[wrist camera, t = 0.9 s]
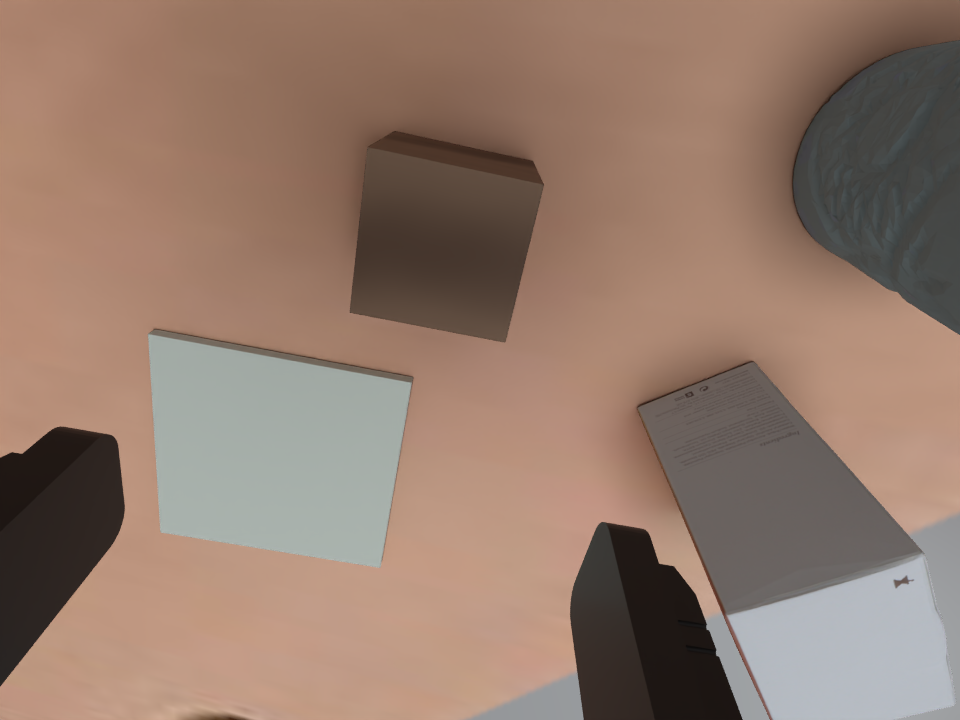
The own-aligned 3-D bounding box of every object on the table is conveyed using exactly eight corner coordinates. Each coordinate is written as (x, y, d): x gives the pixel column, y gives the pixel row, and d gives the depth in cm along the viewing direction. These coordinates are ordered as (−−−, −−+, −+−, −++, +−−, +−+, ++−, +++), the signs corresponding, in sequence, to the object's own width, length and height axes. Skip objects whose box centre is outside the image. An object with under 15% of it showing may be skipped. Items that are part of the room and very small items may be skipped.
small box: (633, 405, 30) (722, 615, 18) (754, 357, 29) (933, 551, 17) (681, 514, 33) (783, 752, 22) (792, 475, 32) (965, 707, 20)
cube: (395, 130, 24) (367, 147, 19) (532, 160, 25) (544, 184, 19) (378, 265, 27) (349, 312, 22) (502, 290, 27) (505, 342, 22)
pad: (154, 329, 29) (148, 334, 28) (413, 377, 30) (411, 382, 29) (165, 525, 34) (160, 532, 34) (382, 560, 35) (380, 567, 35)
